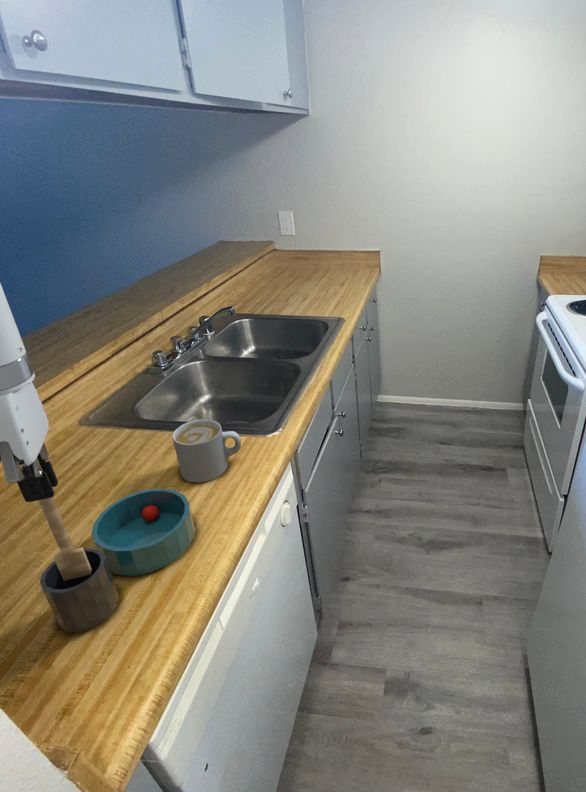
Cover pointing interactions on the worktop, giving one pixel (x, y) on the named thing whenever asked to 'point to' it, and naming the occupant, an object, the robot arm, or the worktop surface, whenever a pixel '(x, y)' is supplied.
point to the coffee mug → (203, 449)
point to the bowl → (144, 532)
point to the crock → (81, 594)
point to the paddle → (64, 544)
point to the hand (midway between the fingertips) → (42, 492)
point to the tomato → (150, 513)
